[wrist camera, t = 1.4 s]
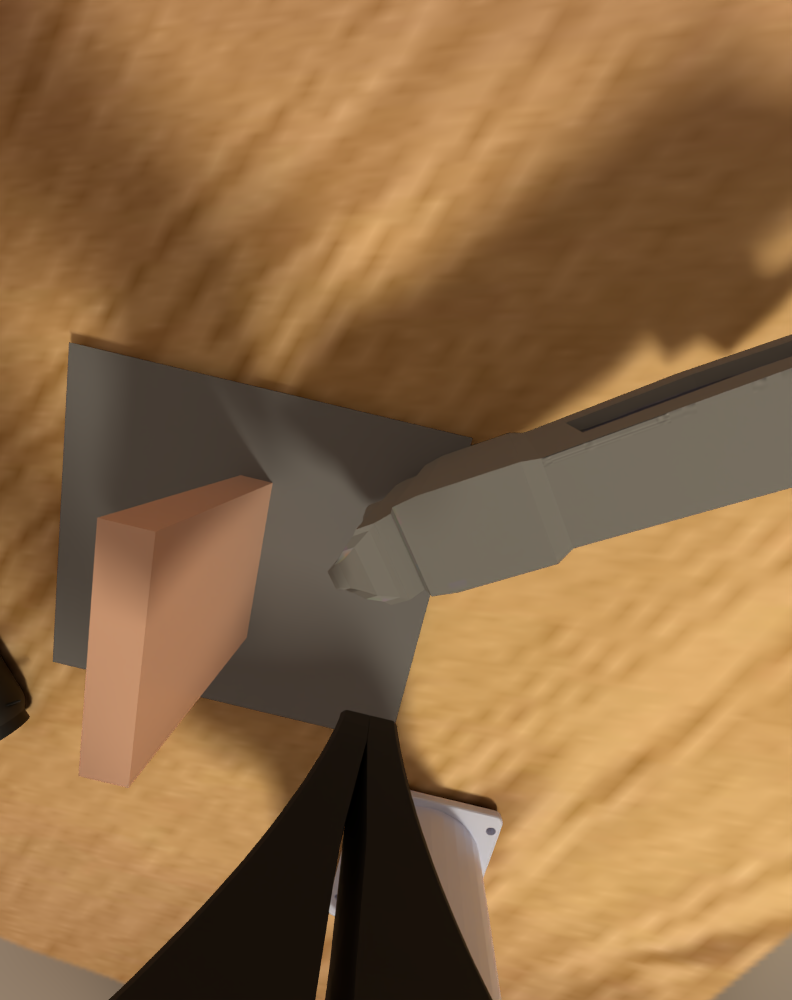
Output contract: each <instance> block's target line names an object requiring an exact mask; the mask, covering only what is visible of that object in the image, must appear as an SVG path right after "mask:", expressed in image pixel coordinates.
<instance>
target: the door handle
mask: <svg viewBox="0 0 792 1000" xmlns="http://www.w3.org/2000/svg"><path fill="white" fill-rule="evenodd" d="M24 707H25V696H24V693H23V691H22V689H21V688H20V686H19V685H18V683H17V681H16V680H15V678H14V677H13V675H12V673H11V672H10V670H9V669H8V667H7V665H6V664H5V662H4V661H3V659H2V657H1V656H0V740H2V739H3V738H5V737H6V736H8V735H9V734H11V733H12V732H14V731H15V730H16V729H18V728H19V727H20V726H22V725H23V724H24V723H25V722H26V721H27V720H28V719H29V717H30V716H29V715H28V713H27V711H26V710H25V708H24Z"/></svg>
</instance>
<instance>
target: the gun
mask: <svg viewBox="0 0 792 1000" xmlns="http://www.w3.org/2000/svg"><path fill="white" fill-rule="evenodd" d="M788 488H792V335H789V336H786V337H783V338H780V339H777V340H774V341H771V342H768V343H765V344H762V345H759V346H756V347H754V348H751V349H748V350H745V351H742V352H739V353H736V354H733V355H730V356H727V357H724V358H721V359H718V360H715V361H713V362H710V363H707V364H704V365H701V366H698V367H695V368H692V369H689V370H686V371H683V372H680V373H677V374H675V375H672V376H670V377H667V378H664V379H662V380H659V381H657V382H654V383H652V384H649V385H646V386H644V387H641V388H639V389H636V390H634V391H631V392H628V393H626V394H623V395H621V396H618V397H615V398H613V399H610V400H608V401H605V402H603V403H600V404H597V405H595V406H592V407H590V408H587V409H585V410H582V411H579V412H577V413H574V414H572V415H569V416H566V417H564V418H561V419H559V420H556V421H554V422H551V423H548V424H546V425H543V426H541V427H538V428H535V429H533V430H530V431H528V432H523V433H507V434H504V435H501V436H499V437H496V438H493V439H490V440H487V441H484V442H481V443H478V444H475V445H472V446H469V447H466V448H463V449H460V450H457V451H454V452H451V453H449V454H446V455H443V456H441V457H439V458H437V459H435V460H433V461H432V462H430V463H428V464H426V465H425V466H424V467H423V468H422V469H421V471H420V472H419V473H418V475H417V476H414V477H412V478H409V479H407V480H405V481H403V482H401V483H399V484H397V485H396V486H395V487H394V488H393V489H392V490H391V491H390V492H389V493H388V494H387V496H386V497H385V498H384V499H383V500H381V501H379V502H376V503H373V504H370V505H369V506H367V508H366V510H365V513H364V516H363V522H362V523H361V524H360V525H359V526H358V528H357V529H356V530H355V532H354V535H353V537H352V538H351V540H350V541H349V543H348V544H347V546H346V547H345V548H344V550H343V551H342V553H341V555H340V557H339V558H338V560H337V561H336V562H335V563H334V564H333V565H332V567H331V568H330V569H329V570H328V571H327V572H328V574H329V576H330V578H331V580H332V582H333V584H334V586H335V588H336V589H340V590H346V591H350V592H353V593H355V594H357V595H359V596H361V597H363V598H365V599H369V600H376V601H383V602H386V603H388V604H390V605H393V604H397V603H401V602H404V601H408V600H410V599H412V598H413V597H415V596H416V595H417V594H419V593H420V592H422V591H423V590H426V591H427V592H428V593H429V594H430V595H431V596H437V595H444V594H451V593H458V592H461V591H465V590H468V589H472V588H475V587H479V586H482V585H486V584H489V583H493V582H496V581H500V580H503V579H507V578H510V577H514V576H517V575H521V574H524V573H528V572H531V571H535V570H538V569H542V568H545V567H549V566H552V565H556V564H558V563H559V562H560V561H561V560H562V559H563V558H564V557H565V556H566V555H567V554H568V553H569V552H570V551H571V550H572V549H573V548H576V547H580V546H584V545H587V544H591V543H594V542H598V541H602V540H605V539H609V538H612V537H616V536H620V535H623V534H627V533H630V532H634V531H637V530H641V529H645V528H648V527H652V526H655V525H659V524H663V523H666V522H670V521H673V520H677V519H681V518H684V517H688V516H691V515H695V514H699V513H702V512H706V511H709V510H713V509H716V508H720V507H724V506H727V505H731V504H734V503H738V502H742V501H745V500H749V499H752V498H756V497H760V496H763V495H767V494H770V493H774V492H778V491H781V490H785V489H788Z"/></svg>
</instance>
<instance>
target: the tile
mask: <svg viewBox="0 0 792 1000" xmlns="http://www.w3.org/2000/svg"><path fill="white" fill-rule="evenodd" d="M272 484H273V483H271V482H267V481H263V480H259V479H254V478H250V477H246V476H242V475H240V476H236V477H233V478H229V479H226V480H223V481H219V482H216V483H213V484H209V485H206V486H203V487H199V488H196V489H192V490H189V491H186V492H182V493H179V494H176V495H172V496H169V497H165V498H162V499H159V500H155V501H152V502H149V503H145V504H142V505H139V506H135V507H132V508H128V509H125V510H122V511H118V512H115V513H112V514H108V515H105V516H101V517H98V518H97V528H96V542H95V556H94V570H93V583H92V597H91V611H90V625H89V639H88V653H87V667H86V681H85V695H84V709H83V723H82V736H81V750H80V764H79V776H81V777H85V778H89V779H93V780H97V781H102V782H106V783H110V784H114V785H118V786H122V787H127V788H129V787H130V785H131V784H132V783H133V782H134V780H135V779H136V778H137V777H138V775H139V774H140V773H141V771H142V770H143V769H144V768H145V766H146V765H147V764H148V763H149V761H150V760H151V759H152V757H153V756H154V755H155V754H156V752H157V751H158V750H159V749H160V747H161V746H162V745H163V743H164V742H165V741H166V740H167V738H168V737H169V736H170V735H171V733H172V732H173V731H174V729H175V728H176V727H177V726H178V724H179V723H180V722H181V721H182V719H183V718H184V717H185V715H186V714H187V713H188V712H189V710H190V709H191V708H192V707H193V705H194V704H195V703H196V701H197V700H198V699H199V698H200V696H201V695H202V694H203V693H204V691H205V690H206V689H207V687H208V686H209V685H210V684H211V682H212V681H213V680H214V679H215V677H216V676H217V675H218V673H219V672H220V671H221V670H222V668H223V667H224V666H225V665H226V663H227V662H228V661H229V659H230V658H231V657H232V656H233V654H234V653H235V652H236V651H237V649H238V648H239V647H240V645H241V644H242V643H243V642H244V640H245V639H246V638H247V633H248V627H249V621H250V615H251V609H252V603H253V597H254V591H255V585H256V579H257V573H258V567H259V561H260V555H261V549H262V543H263V537H264V531H265V525H266V519H267V513H268V508H269V502H270V496H271V490H272Z"/></svg>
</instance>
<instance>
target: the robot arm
mask: <svg viewBox="0 0 792 1000" xmlns="http://www.w3.org/2000/svg"><path fill="white" fill-rule="evenodd" d="M369 717H370V718H369ZM502 823H503V822H502V818H501V815H500V813H499V812H497V811H495V810H491V809H487V808H483V807H479V806H474V805H470V804H466V803H462V802H458V801H453V800H449V799H445V798H441V797H437V796H433V795H428V794H424V793H420V792H416V791H412V790H410V788H409V784H408V780H407V776H406V772H405V768H404V764H403V759H402V755H401V750H400V744H399V738H398V732H397V725H396V724H395V722H394V721H392V720H388V719H384V718H379V717H375V716H371V715H367V714H363V713H359V712H354V711H350V710H345V711H343V712H341V714H340V717H339V720H338V722H337V724H336V726H335V729H334V731H333V733H332V735H331V737H330V739H329V740H328V742H327V744H326V746H325V748H324V749H323V751H322V753H321V755H320V756H319V758H318V759H317V761H316V762H315V764H314V766H313V767H312V769H311V770H310V772H309V773H308V775H307V777H306V778H305V780H304V781H303V783H302V784H301V786H300V787H299V788H298V790H297V791H296V793H295V794H294V795H293V797H292V798H291V800H290V801H289V802H288V804H287V805H286V806H285V808H284V809H283V811H282V812H281V813H280V815H279V816H278V817H277V819H276V820H275V821H274V823H273V824H272V825H271V827H270V828H269V829H268V830H267V832H266V833H265V834H264V835H263V837H262V838H261V839H260V840H259V842H258V843H257V844H256V845H255V847H254V848H253V849H252V850H251V851H250V853H249V854H248V855H247V856H246V857H245V859H244V860H243V861H242V862H241V863H240V864H239V866H238V867H237V868H236V869H235V870H234V871H233V872H232V874H231V875H230V876H229V877H228V878H227V879H226V880H225V881H224V883H223V884H222V885H221V886H220V887H219V888H218V889H217V890H216V892H215V893H214V894H213V895H212V896H211V897H210V898H209V899H208V900H207V902H206V903H205V904H204V905H203V906H202V907H201V908H200V909H199V910H198V911H197V912H196V913H195V914H194V915H193V917H192V918H191V919H190V920H189V921H188V922H187V923H186V924H185V925H184V926H183V927H182V928H181V929H180V930H179V931H178V932H177V933H176V934H175V935H174V936H173V937H172V938H171V939H170V940H169V941H168V942H167V943H166V944H165V945H164V946H163V947H162V948H161V949H160V950H159V951H158V952H157V953H156V954H155V955H154V956H153V957H152V958H151V959H150V960H149V961H148V962H147V963H146V964H145V965H144V966H143V967H142V968H141V969H140V970H139V971H138V972H137V973H136V974H135V975H134V976H133V977H132V978H131V979H130V980H129V981H128V982H127V983H126V984H125V985H124V986H123V987H122V988H121V989H120V990H119V991H118V992H117V993H115V994H114V995H113V996H112V997H111V998H110V999H109V1000H315V998H316V991H317V985H318V978H319V971H320V965H321V959H322V952H323V946H324V940H325V934H326V927H327V921H328V915H329V913H330V914H331V915H333V916H335V921H334V930H333V940H332V949H331V959H330V967H329V975H328V982H327V990H326V997H325V1000H501V994H500V987H499V981H498V974H497V967H496V961H495V954H494V947H493V941H492V934H491V927H490V921H489V914H488V907H487V901H486V894H485V887H484V881H483V877H484V874H485V872H486V869H487V866H488V863H489V861H490V858H491V855H492V852H493V850H494V847H495V844H496V841H497V838H498V836H499V833H500V830H501V827H502ZM344 827H345V828H344ZM343 831H344V836H343V845H342V851H341V855H340V859H339V863H338V867H337V871H336V866H337V859H338V853H339V847H340V843H341V839H342V835H343ZM335 872H336V874H335Z"/></svg>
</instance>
